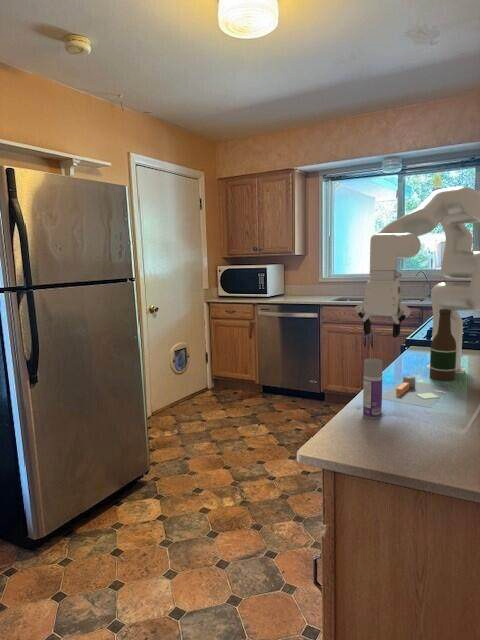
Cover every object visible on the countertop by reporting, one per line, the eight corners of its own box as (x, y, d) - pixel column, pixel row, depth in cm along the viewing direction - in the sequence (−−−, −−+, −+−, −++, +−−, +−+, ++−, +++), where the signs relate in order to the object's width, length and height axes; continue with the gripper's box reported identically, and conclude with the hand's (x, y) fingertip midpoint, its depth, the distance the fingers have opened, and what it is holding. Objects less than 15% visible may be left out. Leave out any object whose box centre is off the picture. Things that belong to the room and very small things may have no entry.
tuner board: (402, 383, 141) (402, 379, 141) (450, 390, 132) (451, 386, 132) (378, 402, 124) (378, 397, 124) (432, 412, 115) (432, 407, 115)
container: (381, 413, 115) (382, 358, 113) (381, 419, 111) (382, 363, 109) (363, 411, 117) (364, 357, 115) (362, 417, 112) (363, 362, 110)
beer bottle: (458, 385, 137) (462, 310, 134) (432, 384, 139) (435, 310, 135) (451, 378, 145) (454, 307, 141) (426, 377, 147) (429, 307, 143)
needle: (404, 383, 135) (405, 375, 135) (416, 385, 133) (416, 376, 133) (392, 393, 126) (392, 384, 126) (404, 396, 124) (405, 386, 124)
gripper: (417, 276, 124) (415, 336, 127) (359, 275, 134) (358, 331, 137) (409, 277, 118) (407, 340, 121) (349, 276, 129) (348, 334, 131)
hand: (381, 335), depth 129 cm, fingers open, 7 cm apart
